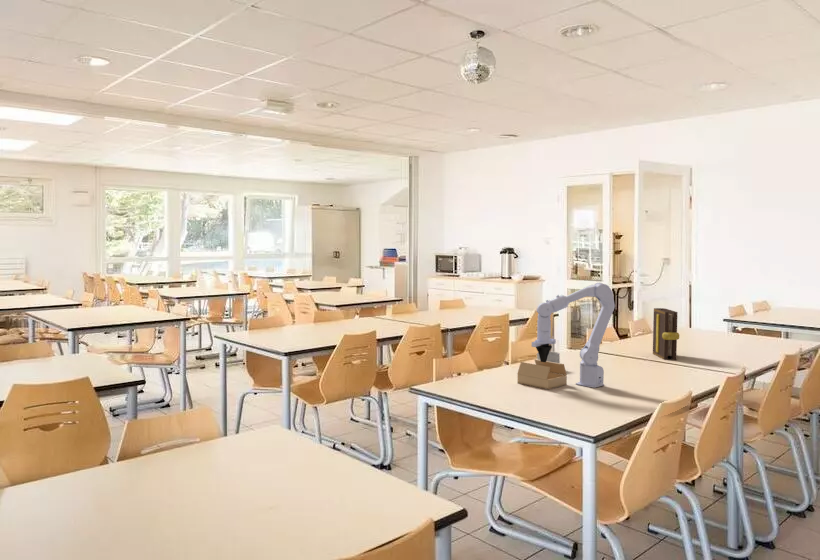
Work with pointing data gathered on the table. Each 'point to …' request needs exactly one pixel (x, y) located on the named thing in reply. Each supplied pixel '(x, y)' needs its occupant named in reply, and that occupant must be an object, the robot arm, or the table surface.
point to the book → (665, 333)
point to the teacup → (551, 357)
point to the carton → (544, 381)
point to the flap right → (553, 367)
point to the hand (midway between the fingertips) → (543, 361)
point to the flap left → (533, 370)
